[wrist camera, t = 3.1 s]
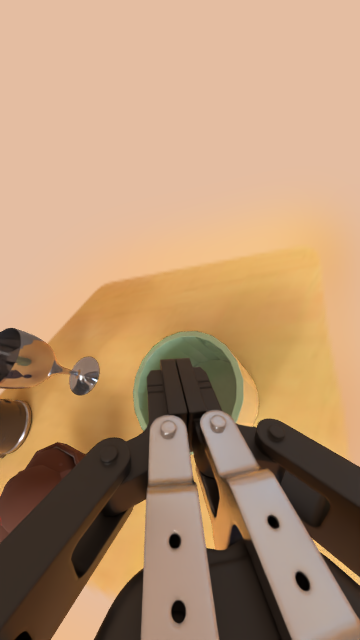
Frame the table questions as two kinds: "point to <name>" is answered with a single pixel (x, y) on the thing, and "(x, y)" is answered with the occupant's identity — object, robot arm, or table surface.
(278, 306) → the table surface
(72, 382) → the wine glass
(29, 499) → the ice cream bowl
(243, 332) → the table surface
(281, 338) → the table surface
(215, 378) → the tumbler
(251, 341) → the table surface
